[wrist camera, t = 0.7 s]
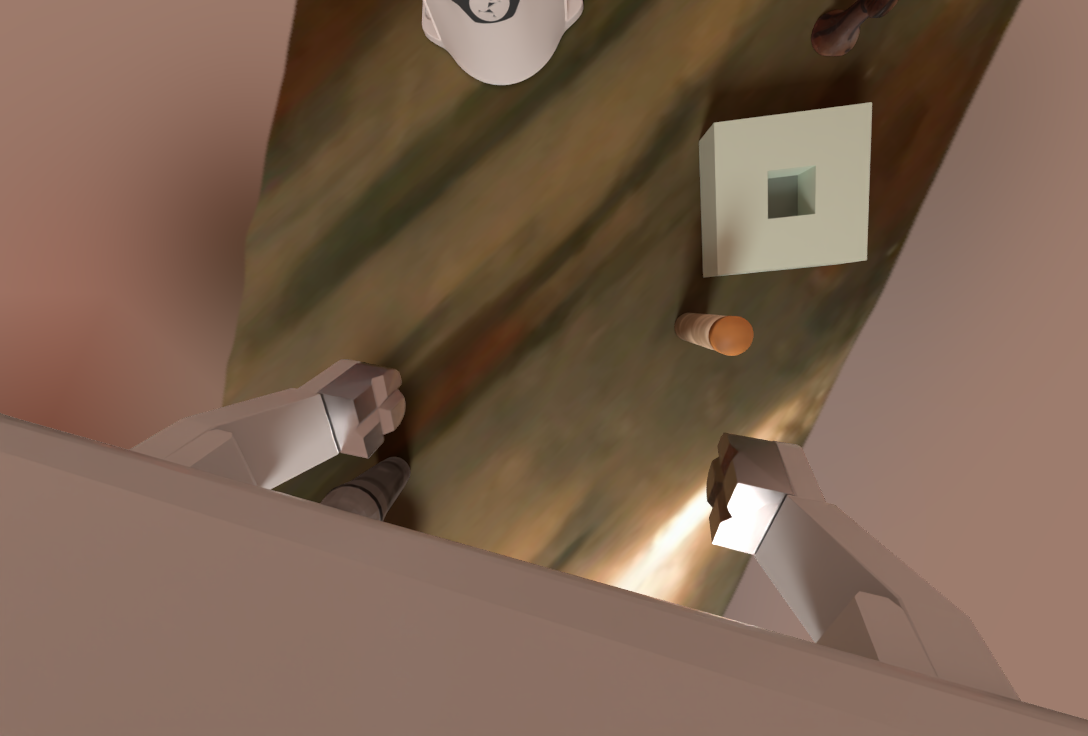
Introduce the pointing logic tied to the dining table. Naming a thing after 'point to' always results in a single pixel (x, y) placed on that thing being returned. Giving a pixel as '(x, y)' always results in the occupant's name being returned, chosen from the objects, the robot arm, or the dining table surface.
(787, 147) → the bore block
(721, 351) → the pin
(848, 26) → the figurine
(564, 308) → the dining table surface
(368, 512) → the beverage cup
